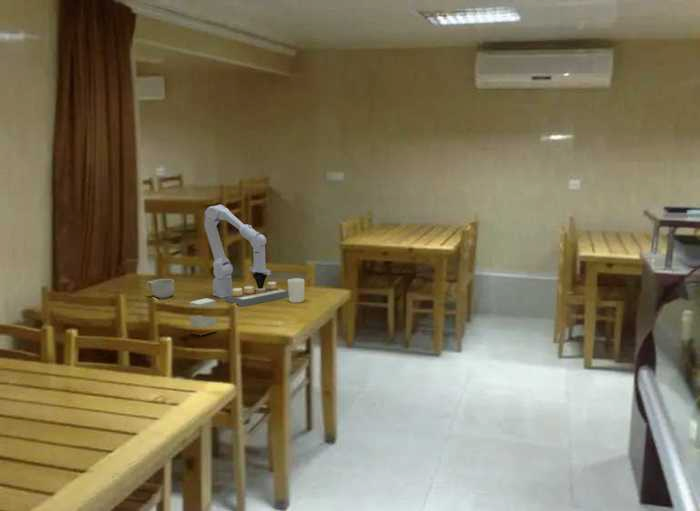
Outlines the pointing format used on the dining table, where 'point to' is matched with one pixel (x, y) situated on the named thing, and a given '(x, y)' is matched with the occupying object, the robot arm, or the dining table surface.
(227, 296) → the board
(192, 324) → the small box
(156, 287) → the teacup
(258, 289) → the button
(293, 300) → the white cup
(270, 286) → the button
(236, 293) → the button
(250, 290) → the button
